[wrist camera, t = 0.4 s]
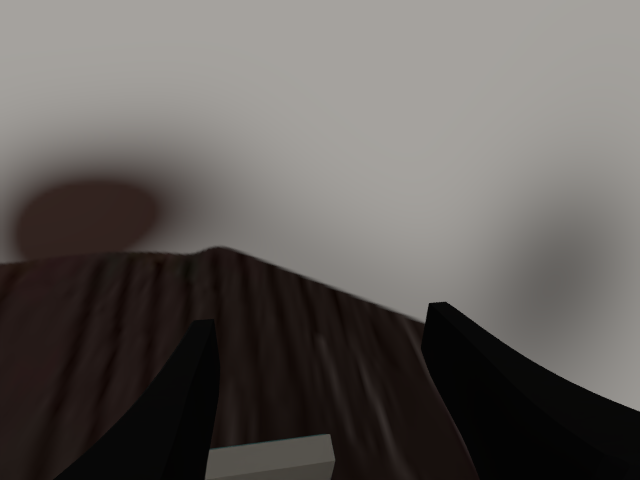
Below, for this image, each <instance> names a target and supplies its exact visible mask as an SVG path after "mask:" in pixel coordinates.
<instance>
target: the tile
mask: <svg viewBox="0 0 640 480" xmlns="http://www.w3.org/2000/svg"><path fill="white" fill-rule="evenodd" d="M334 463H335V457H334V452H333V447H332V442H331V437H330V434H327V435H326V434H320V435H313V436H305V437H297V438H290V439H282V440H275V441H267V442H259V443H252V444H244V445H237V446H229V447H221V448H214V449H210V450H209V456H208V461H207V468H206V475H205V480H331V476H332V472H333V468H334Z"/></svg>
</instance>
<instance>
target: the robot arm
mask: <svg viewBox="0 0 640 480" xmlns="http://www.w3.org/2000/svg"><path fill="white" fill-rule="evenodd" d="M421 351H422V353H423V356H424V359H425V362H426V365H427V368H428V370H429V373H430V375H431V377H432V379H433V382H434V383H435V385H436V387H437V389H438V391H439V393H440V395H441V397H442V399H443V401H444V403H445V405H446V407H447V409H448V411H449V412H450V414H451V416H452V418H453V420H454V422H455V424H456V426H457V428H458V430H459V432H460V433H461V435H462V438H463V440H464V442H465V444H466V446H467V448H468V451H469V453H470V456H471V458H472V461H473V463H474V466H475V468H476V471H477V473H478V476H479V478H480V480H640V412H639V411H637V410H634V409H632V408H629V407H627V406H624V405H622V404H619V403H617V402H614V401H612V400H609V399H607V398H605V397H602V396H600V395H598V394H595V393H593V392H591V391H589V390H587V389H585V388H582V387H580V386H578V385H576V384H574V383H572V382H570V381H568V380H566V379H564V378H562V377H560V376H558V375H556V374H554V373H553V372H551V371H549V370H547V369H545V368H544V367H542V366H540V365H538V364H536V363H535V362H533V361H531V360H530V359H528V358H526V357H525V356H523V355H522V354H520V353H518V352H517V351H515V350H514V349H512V348H511V347H509V346H508V345H506V344H505V343H503V342H502V341H500V340H499V339H497V338H496V337H494V336H493V335H492V334H490V333H489V332H487V331H486V330H484V329H483V328H482V327H480V326H479V325H478V324H476V323H475V322H474V321H472V320H471V319H469V318H468V317H467V316H465V315H464V314H463V313H461V312H460V311H458V310H457V309H456V308H454V307H453V306H451V305H450V304H448V303H447V302H436V303H429V306H428V311H427V317H426V322H425V328H424V333H423V339H422V344H421ZM219 380H220V362H219V354H218V347H217V339H216V332H215V324H214V319H208V320H194V321H193V322H192V323H191V325H190V326H189V328H188V330H187V331H186V333H185V335H184V336H183V338H182V340H181V341H180V343H179V344H178V346H177V348H176V349H175V351H174V352H173V354H172V355H171V356H170V358H169V359H168V361H167V362H166V364H165V365H164V366H163V368H162V369H161V371H160V372H159V373H158V375H157V376H156V377H155V378H154V380H153V381H152V382H151V384H150V385H149V386H148V387H147V389H146V390H145V391H144V392H143V394H142V395H141V396H140V397H139V398H138V400H137V401H136V402H135V403H134V404H133V405H132V406H131V408H130V409H129V410H128V411H127V412H126V413H125V414H124V415H123V416H122V417H121V418H120V419H119V420H118V422H117V423H116V424H115V425H114V426H113V427H112V428H110V429H109V430H108V431H107V432H106V433H105V434H104V435H103V436H102V437H101V438H100V439H99V440H98V441H97V442H96V443H95V444H94V445H93V446H92V447H91V448H90V449H89V450H88V451H86V452H85V453H84V454H83V455H82V456H81V457H79V458H78V459H77V460H76V461H75V462H74V463H72V464H71V465H70V466H69V467H68V468H67V469H65V470H64V471H63V472H62V473H61V474H59V475H58V476H57V477H56V478H55V479H53V480H205V475H206V468H207V461H208V456H209V450H210V444H211V438H212V432H213V427H214V421H215V415H216V409H217V403H218V397H219Z"/></svg>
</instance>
